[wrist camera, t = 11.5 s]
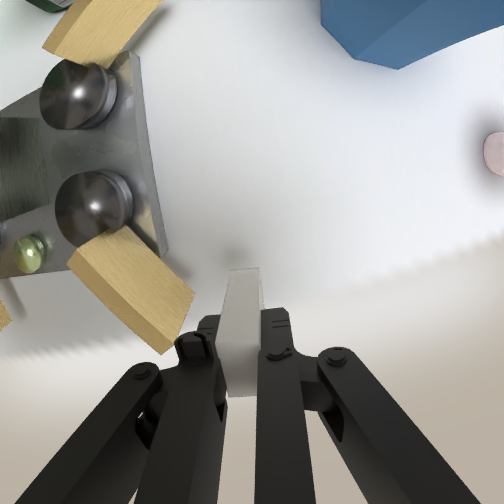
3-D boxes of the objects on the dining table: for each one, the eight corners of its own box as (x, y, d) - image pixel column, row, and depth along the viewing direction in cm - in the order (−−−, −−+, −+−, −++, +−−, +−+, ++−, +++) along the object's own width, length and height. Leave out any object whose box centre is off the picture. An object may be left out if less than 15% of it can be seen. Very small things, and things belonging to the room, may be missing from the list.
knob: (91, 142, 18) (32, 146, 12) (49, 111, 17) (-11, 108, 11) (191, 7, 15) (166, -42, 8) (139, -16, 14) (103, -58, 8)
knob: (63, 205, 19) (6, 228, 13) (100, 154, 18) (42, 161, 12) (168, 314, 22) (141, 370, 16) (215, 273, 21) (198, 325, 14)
